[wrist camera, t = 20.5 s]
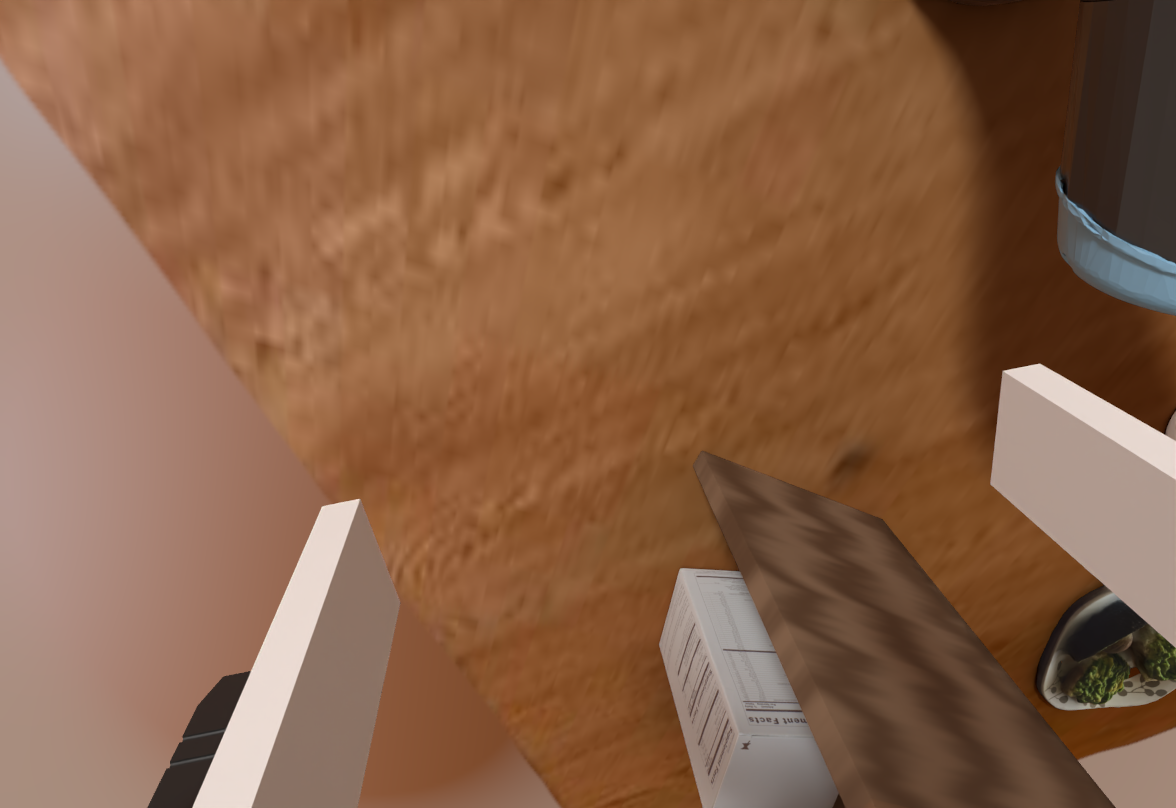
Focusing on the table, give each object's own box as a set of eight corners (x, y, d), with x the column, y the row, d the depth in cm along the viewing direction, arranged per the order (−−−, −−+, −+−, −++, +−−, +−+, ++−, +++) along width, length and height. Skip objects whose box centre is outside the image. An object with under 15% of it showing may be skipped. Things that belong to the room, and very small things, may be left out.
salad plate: (1263, 560, 67) (1312, 593, 63) (1182, 694, 74) (1221, 731, 70) (1079, 561, 65) (1117, 596, 60) (1015, 699, 72) (1045, 738, 68)
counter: (565, 677, 64) (606, 1158, 36) (701, 450, 55) (901, 860, 27) (730, 721, 69) (881, 1175, 41) (882, 519, 60) (1213, 928, 31)
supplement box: (656, 645, 64) (700, 826, 48) (677, 565, 60) (732, 734, 45) (755, 650, 65) (828, 827, 50) (782, 572, 61) (870, 738, 46)
